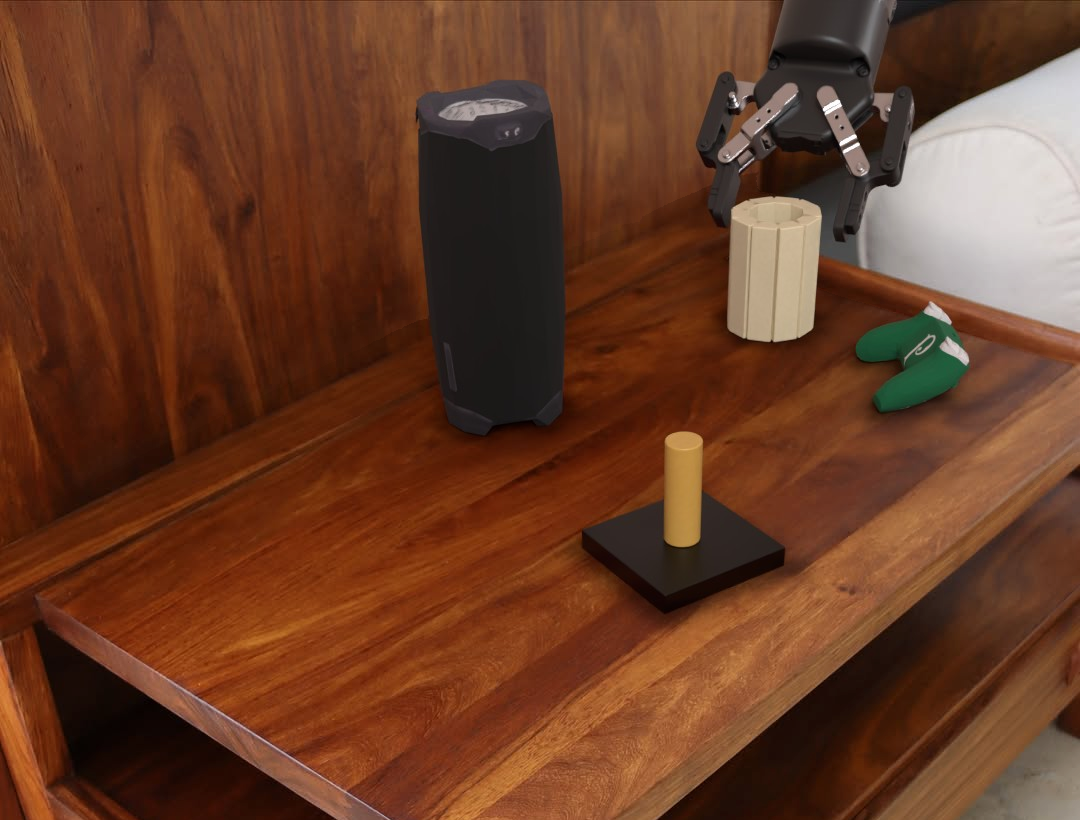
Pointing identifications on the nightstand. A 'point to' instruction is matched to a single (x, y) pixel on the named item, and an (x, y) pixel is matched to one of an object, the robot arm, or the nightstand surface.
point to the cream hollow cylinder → (773, 268)
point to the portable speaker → (493, 252)
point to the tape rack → (682, 538)
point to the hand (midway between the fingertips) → (778, 230)
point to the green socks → (916, 358)
